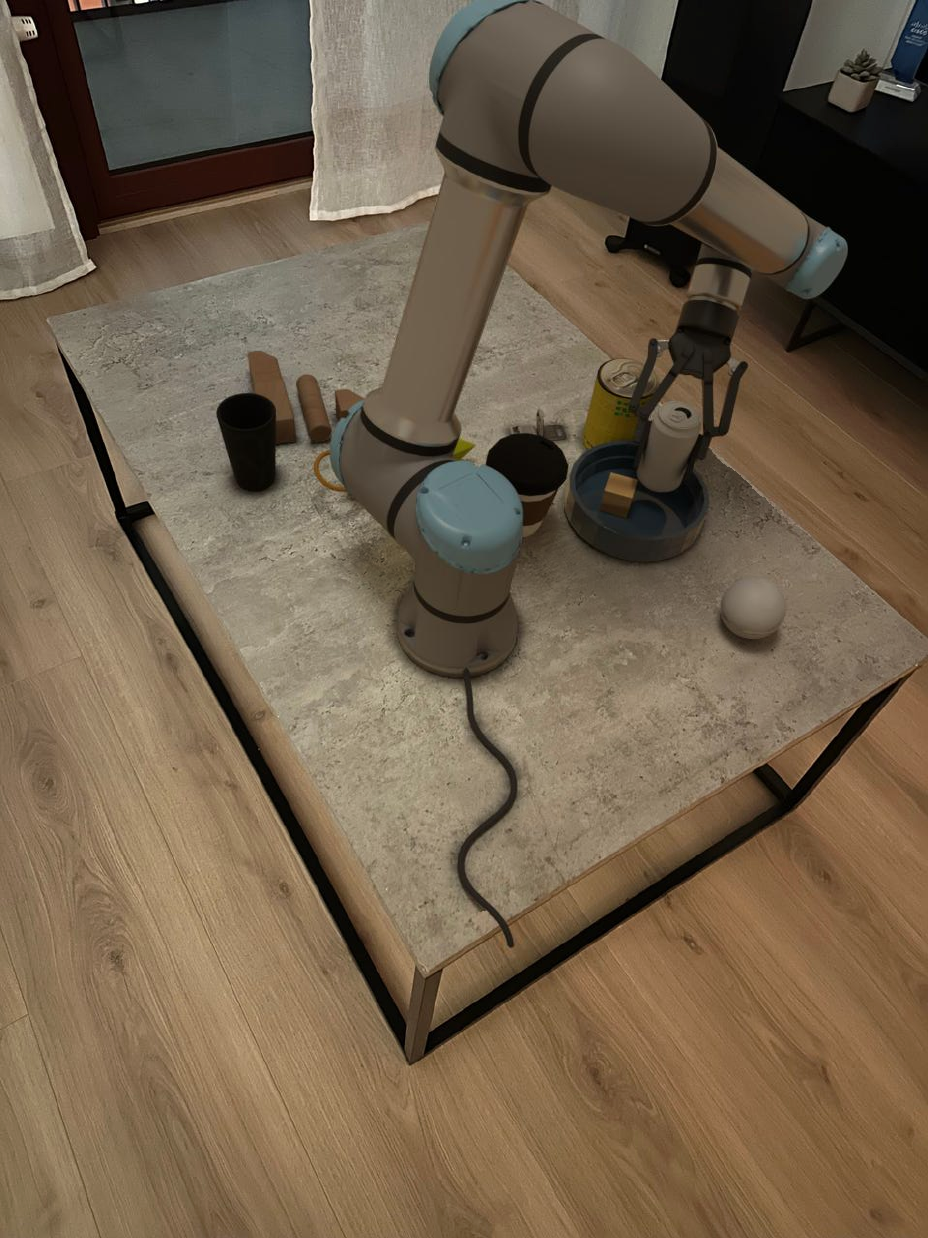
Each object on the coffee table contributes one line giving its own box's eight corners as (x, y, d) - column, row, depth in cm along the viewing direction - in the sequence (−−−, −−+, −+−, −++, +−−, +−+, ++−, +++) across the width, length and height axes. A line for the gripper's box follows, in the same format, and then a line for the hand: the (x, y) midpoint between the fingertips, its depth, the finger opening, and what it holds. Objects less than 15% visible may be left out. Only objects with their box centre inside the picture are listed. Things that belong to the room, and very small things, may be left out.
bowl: (687, 580, 122) (698, 556, 118) (548, 540, 124) (554, 515, 120) (708, 486, 134) (718, 461, 130) (581, 452, 136) (587, 426, 132)
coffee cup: (514, 483, 131) (524, 418, 121) (571, 524, 127) (587, 460, 117) (462, 519, 126) (469, 454, 116) (520, 563, 121) (532, 500, 112)
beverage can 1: (651, 444, 139) (672, 380, 129) (615, 469, 134) (633, 406, 125) (607, 414, 142) (624, 350, 133) (570, 438, 138) (584, 374, 128)
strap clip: (512, 443, 136) (516, 421, 133) (508, 429, 138) (511, 407, 135) (566, 439, 138) (571, 418, 134) (561, 426, 139) (566, 404, 136)
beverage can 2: (688, 481, 129) (713, 415, 119) (662, 502, 125) (685, 436, 116) (653, 458, 131) (674, 391, 121) (626, 478, 128) (646, 412, 118)
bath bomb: (700, 616, 118) (718, 577, 112) (744, 594, 121) (764, 555, 115) (741, 660, 114) (762, 622, 108) (785, 636, 117) (809, 598, 111)
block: (626, 518, 127) (632, 498, 124) (598, 510, 128) (604, 490, 125) (631, 499, 130) (638, 479, 127) (604, 492, 130) (610, 471, 127)
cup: (272, 502, 125) (264, 435, 115) (219, 491, 125) (207, 423, 116) (290, 465, 129) (283, 398, 120) (239, 455, 130) (228, 387, 120)
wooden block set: (262, 420, 126) (244, 344, 137) (266, 451, 131) (248, 374, 141) (379, 406, 130) (354, 332, 141) (380, 436, 135) (354, 362, 145)
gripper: (779, 330, 122) (726, 495, 126) (640, 296, 125) (592, 458, 128) (789, 317, 115) (733, 492, 118) (642, 281, 118) (591, 453, 121)
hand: (660, 474), depth 123 cm, fingers closed on beverage can 2, 6 cm apart
